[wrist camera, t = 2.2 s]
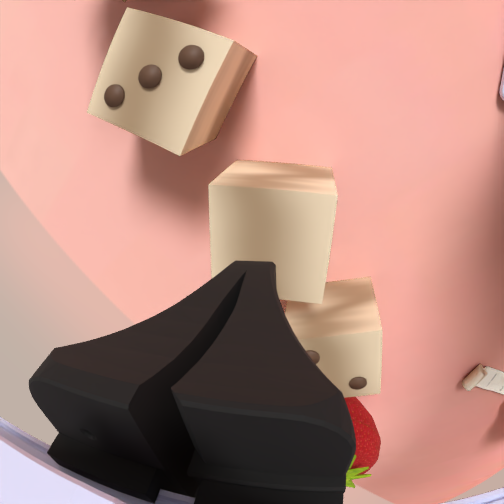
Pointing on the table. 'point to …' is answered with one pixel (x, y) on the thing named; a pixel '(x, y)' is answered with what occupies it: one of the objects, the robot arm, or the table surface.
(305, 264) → the plain block
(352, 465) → the strawberry
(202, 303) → the robot arm
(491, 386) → the toy measuring tape
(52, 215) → the table surface
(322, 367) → the pip block
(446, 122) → the table surface
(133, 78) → the pip block
